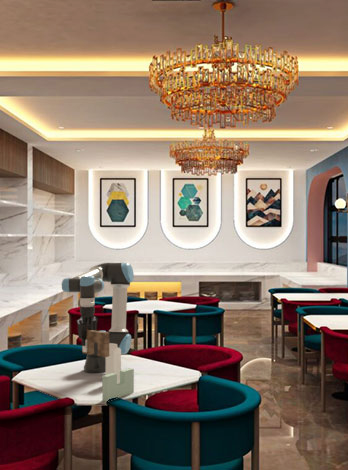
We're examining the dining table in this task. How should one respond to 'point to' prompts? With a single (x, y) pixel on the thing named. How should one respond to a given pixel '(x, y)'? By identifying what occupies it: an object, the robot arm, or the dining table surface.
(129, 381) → the slot stand
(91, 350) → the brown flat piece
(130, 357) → the dining table surface
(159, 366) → the dining table surface
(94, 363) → the robot arm
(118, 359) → the milk
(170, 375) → the dining table surface
